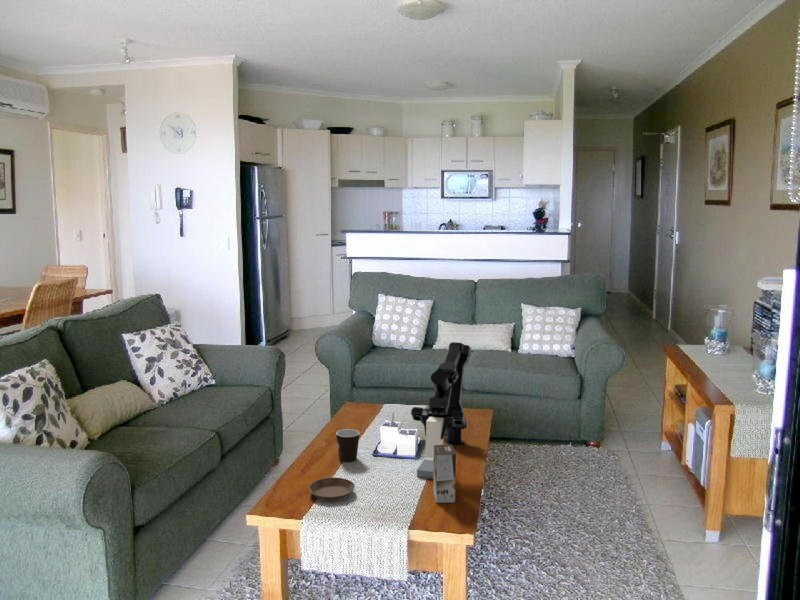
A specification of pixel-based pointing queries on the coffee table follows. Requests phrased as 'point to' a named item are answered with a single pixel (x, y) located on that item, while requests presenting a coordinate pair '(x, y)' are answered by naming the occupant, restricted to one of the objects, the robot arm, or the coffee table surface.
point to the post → (433, 434)
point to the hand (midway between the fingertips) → (433, 438)
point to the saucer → (331, 489)
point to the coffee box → (444, 473)
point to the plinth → (426, 469)
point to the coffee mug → (347, 444)
